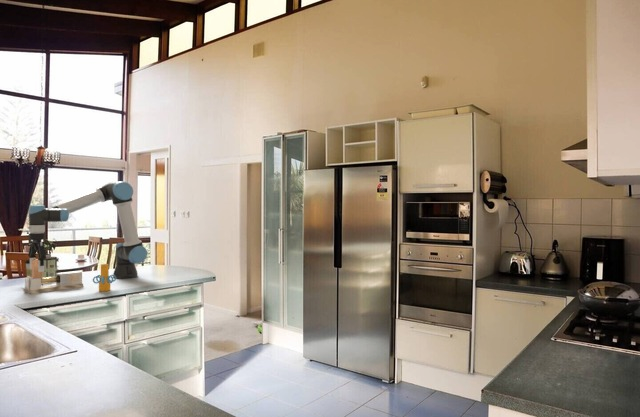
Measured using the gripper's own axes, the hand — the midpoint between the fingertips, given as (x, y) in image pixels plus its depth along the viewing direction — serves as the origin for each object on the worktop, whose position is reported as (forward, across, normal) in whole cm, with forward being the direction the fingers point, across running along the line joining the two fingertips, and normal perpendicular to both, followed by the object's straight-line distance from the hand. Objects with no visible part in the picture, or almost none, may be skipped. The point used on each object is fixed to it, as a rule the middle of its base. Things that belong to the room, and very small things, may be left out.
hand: (36, 270), depth 247 cm
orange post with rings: (+12, +25, +26) cm, 38 cm away
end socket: (+10, 0, -2) cm, 10 cm away
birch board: (+12, 0, +8) cm, 14 cm away
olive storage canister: (+12, -26, +7) cm, 29 cm away
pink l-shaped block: (+8, 0, +5) cm, 9 cm away
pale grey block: (+10, 0, +17) cm, 20 cm away
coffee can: (+12, -39, +18) cm, 44 cm away
